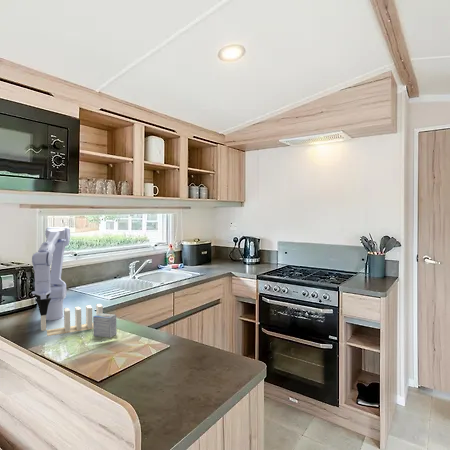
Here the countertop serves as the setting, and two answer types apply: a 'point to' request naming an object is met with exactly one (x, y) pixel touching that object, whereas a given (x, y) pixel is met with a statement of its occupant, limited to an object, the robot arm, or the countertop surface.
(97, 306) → the domino
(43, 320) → the domino
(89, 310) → the domino
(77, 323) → the domino
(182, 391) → the countertop surface
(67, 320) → the domino
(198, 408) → the countertop surface
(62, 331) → the oak strip
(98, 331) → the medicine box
